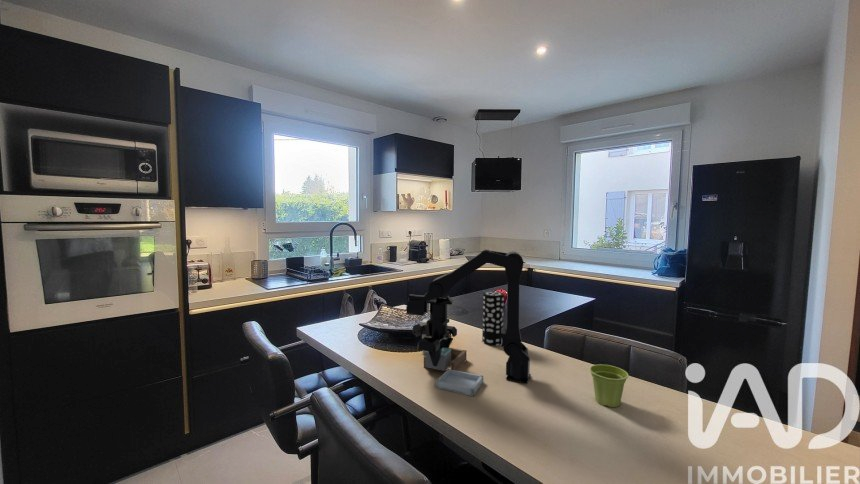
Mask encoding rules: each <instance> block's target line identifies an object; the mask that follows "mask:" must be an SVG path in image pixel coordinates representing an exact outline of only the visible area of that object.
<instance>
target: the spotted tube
mask: <svg viewBox="0 0 860 484" xmlns="http://www.w3.org/2000/svg"><path fill="white" fill-rule="evenodd" d="M504 301H505V294H504V292H499V291H485V292H482V340H481V341H482V344H485V345H487V346H491V347H492V346H495V347H497V346H501V339H502V335H501V328H504V313H505V312H504V310H505V309H504V307H505V305H504V303H505V302H504Z"/></svg>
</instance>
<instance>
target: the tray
mask: <svg viewBox="0 0 860 484" xmlns="http://www.w3.org/2000/svg"><path fill="white" fill-rule="evenodd" d="M483 383H484V375H481V374H476V373H470V372H467V371H466V372H465V371H460V370H452V369H451V368H448V369H447V370H446V371H444V372H443V373H442V375H441V376H440V377H438V378H437V380H436V381H435V388H436V389H440V390H442V391H443V390H444V391H446V392H447V391H448V392H452V393H458V394H461V395H466V396H470V397H475V395H476V393H477V392H478V390H479V389H480V388H481V386H482V385H483Z"/></svg>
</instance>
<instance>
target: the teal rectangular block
mask: <svg viewBox="0 0 860 484" xmlns="http://www.w3.org/2000/svg"><path fill="white" fill-rule="evenodd" d="M450 348H451V347H449V348H444V347H443V348H442V351H441V354H440V357H439V361H438V363H437V366H433V364H432V361H431V358H430V355H429V352H428V351H425V354H424V355H425V367H427V368H429V369H434V370H438V371H442V372H446V371H447V370H448V369H450V368H451V362H452V359H451V349H450ZM425 367H424V368H425Z"/></svg>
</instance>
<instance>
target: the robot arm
mask: <svg viewBox="0 0 860 484" xmlns="http://www.w3.org/2000/svg"><path fill="white" fill-rule="evenodd" d="M486 264H490V265H494V266H498V267H501V268H504V271H505V276H506V282H507V284H506V287H507V289H506V290H507V291H506V292H507V293H506V294H507V295H506V298H507V299H506V301H507V302H506V304H507V305H506V326H505V328H504V327H503V328H501V335H502V339H501V345H500V346H501V348H503V352H504V353H505V354H506V355H507V356H508V358H507V360H506V362H505V364H506V365H505V375H506V377H505V380H507V381H512V382H517V383H522V384H528V382H529V381H530V378H531V372H530V367H531V366H530V365H531V363H530V362H531V357H530V354H529V349H528V347H526V345H525V344H524V343H523V342H522V336H521V332H520V314H519V313H520V281H521V277H522V273H523V269H524V268H523V267H524V258H523V256H522V255H521V254H520V253H519V252H517V251H509V252H502V251H496V250H490V249H483V250H482V251H481V252H480V253H477V254H476V255H475V256H473V257H472V258H470V259H469V260H468V261H466V262H464V263H463V264H461V265H460V266H459V267H457V268H456V269H454V270H453V271H450V272H447V273H445V274H442V275H441V276H438V277H436V278H434V280H432V281H431V282H430V283H429V284H428V291H426V293H425V294H424V295H422V294H415V293H414V294H411V293H410V294H409V295H408V298H407V304H406V309H405V310H406V314H407V316H419V317H421V316H422V317H425V316H426V314H428V313H429V318H428V319H429V320H428V321H427V322H426V323H422V322H421V323H417V324H413V325H412V331H411V334H413V335H414V336H415V337H416V338H417V337H420V336H422V335H424V334H426V336H431V337H432V338H427V337H425V338H423V339H422V338H421V339H420V340H419V341H418V342H417V350H419V351H422V350H424V351H428V352H429V355H430V358H431V361H432V364H433V366H437V363H438V361H439V357H440V354H441V351H442V348H443V347H444V348H450V347H451V345H452V342H453V341H454V338H455V337H456V336H457V335H458V329H457V328H456V327H455V326H454V325H453V326H452V325H448V323H450V318H448V306H449V305H450V306H452V305H453V303H454V299H452V298H451V297H450V296H449V295H447V296H446V297H444V296H445V295H446V294H447V293H448V292H449V291H450V290H452V288H453V287H454V286H456V284H457V283H458V282H460V281H462V280H463V279H465V278H466V277H468V276H469V275H470V274H471V275H472V273H474V272H475V271H476V270H479V269H480V268H482V267H483V266H484V265H486ZM434 298H436V299H434ZM450 335H451V336H452V337H450Z"/></svg>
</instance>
